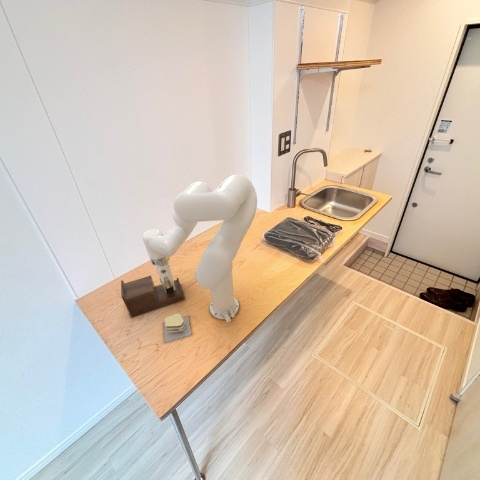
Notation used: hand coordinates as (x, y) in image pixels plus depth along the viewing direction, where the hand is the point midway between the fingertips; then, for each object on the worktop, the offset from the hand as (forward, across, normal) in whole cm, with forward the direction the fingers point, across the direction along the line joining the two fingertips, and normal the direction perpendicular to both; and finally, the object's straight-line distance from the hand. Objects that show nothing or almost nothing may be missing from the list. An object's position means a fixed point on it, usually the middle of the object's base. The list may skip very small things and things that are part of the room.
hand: (169, 288), depth 110 cm
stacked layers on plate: (+5, -19, +1) cm, 20 cm away
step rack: (+5, 0, +6) cm, 8 cm away
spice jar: (+1, 0, 0) cm, 1 cm away
